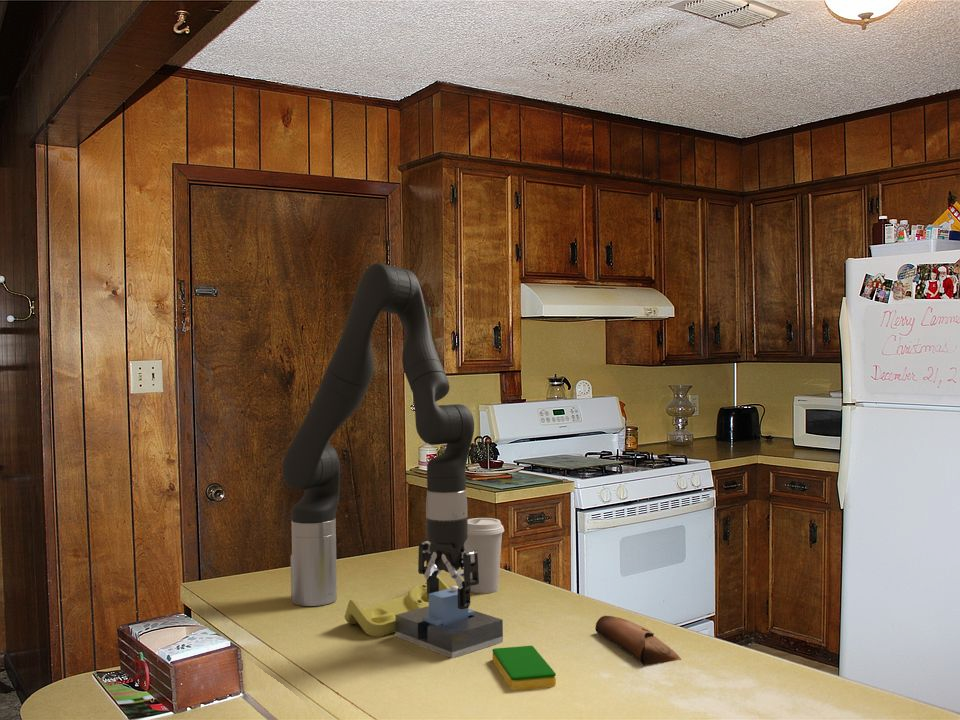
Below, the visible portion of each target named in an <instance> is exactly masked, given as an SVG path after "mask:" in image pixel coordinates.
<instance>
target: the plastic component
mask: <svg viewBox="0 0 960 720" xmlns="http://www.w3.org/2000/svg"><path fill="white" fill-rule="evenodd" d="M437 578H439V591H442V590H446V589H450V588H451V587H450V586H449V585H448V584H447V582H445V580H444V579H442V577H441V576H440V575H438V577H437ZM427 606H429V599H428V596H427V581H426V582H425V583H421V584H420V585H418V586H414V587H413V588H410V590H408V593H407V594H406V595H402V596H400V597H396V598H393V599H390V600H386V601H383V602H380V603H376V604H373V605H369V606H367V607H363V608H362V607H361V605H360V604H358V602H357V601H356V599H350V600H349V601H348V604H347V608H346V611H345V613H344V619H345V621H346V622H347V623H348V624H350V625H355V623H356V624H359V626H360V628H361V629H362V630H363V631H364V632H365V634H367V635H368V636H370V637H374V636H377V637H382V636H387V635H390V634H393V633H396V623H395V615H397V614H401V613H405V612H409V611H412V610H416V609H420V608H424V607H427Z"/></svg>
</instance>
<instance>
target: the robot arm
mask: <svg viewBox="0 0 960 720" xmlns="http://www.w3.org/2000/svg"><path fill="white" fill-rule="evenodd" d="M424 299H425V298H424V295H423V291H422V287H421V284H420V282H419V279H418V278H417V275H416V274H415V273H414V272H412V270H409V269H406V268H402V267H398V266H395V265H390V264H386V263H382V262H378V263H377V262H376V263H372V264H371V265H369V266H368V267H367V268H366V270H364V272H363V274H362V276H361V278H360V279H359V282H358V285H357V286H356V291H355V294H354V297H353V300H352V303H351V306H350V310H349V313H348V316H347V319H346V322H345V325H344V327H343V329H342V332H341V335H340V337H339V341H338V343H337V345H336V348H335V349H334V352H333V354H332V357H331V359H330V361H328V362H329V363H328V365H327V367H326V369H325V372H324V374H323V376H322V379H321V381H320V383H319V384H320V385H319V387H318V389H317V391H316V393H315V396H314V397H313V400H312V402H311V405H310V406H309V409H308V411H307V413H306V415H305V418H304V420H303V422H302V424H301V425H300V427H299V429H298V431H297V433H296V434H295V436H294V438H293V440H292V441H291V443H290V445H289V446H288V448H287V450H286V453H285V454H284V457H283V460H282V465H281V469H282V470H281V473H282V478H283V481H284V482H285V484H286V485H287V487H289V488H291V489H294V490H304V493H303V496H302V497H301V498H300V500H299V501H298V502H297V503H295V504H294V505H293V506H292V508H291V512H290V517H291V519H290V520H291V555H290V592H291V593H290V595H291V600H292V603H293V604H294V605H297V606H301V607H316V606H317V607H318V606H325V605H329V604H331V603H334V602H336V601H337V599H338V591H337V590H338V587H337V586H338V585H337V582H338V581H337V580H338V578H337V571H338V570H337V530H336V529H337V528H336V527H337V523H336V522H337V521H336V519H337V518H336V515H337V514H336V512H337V508H338V506H339V501H340V489H341V487H340V486H341V485H340V484H341V465H340V458H339V455H338V452H337V450H336V449H335V448H334V446H332V444H330V443H329V441H330V439H331V438H332V436H333V435H334V434H335V433H336V432H337V430H338V429H339V428H340V427H341V426H342V425H343V424H344V423H345V422H346V421H347V420H349V418H350V417H351V416H352V414H354V412H355V411H356V410H357V409H358V407H359V406H360V405H361V403H362V401H363V400H364V398H365V395H366V394H367V391H368V389H369V387H370V384H371V382H372V379H373V377H374V372H375V371H374V370H375V367H374V366H375V365H374V356H373V350H372V341H371V340H372V339H371V338H372V333H373V329H374V327H375V324H376V321H377V320H378V317H379V315H380V313H381V312H382V313H383V312H384V313H387V314H388V313H389V314H394V315H397V317H398V318H399V320H400V323H401V324H402V326H403V329H404V334H405V335H404V337H405V338H404V345H403V347H402V352H401V359H402V360H401V361H402V362H401V363H402V369H403V372H404V374H405V377H406V379H407V383H408V385H409V387H410V389H411V392H412V396H413V405H414V417H415V419H414V420H415V428H416V433H417V434H418V436H419V438H420V439H421V440H422V441H423V442H424V443H426V444H427V445H431V446H434V445H435V446H437V445H445V449H444V451H443V452H442V453H441V454H440V455H438V456H435V457H432V458H431V459H429V460H428V462H427V464H426V487H427V489H426V498H425V499H426V501H425V515H426V516H425V518H426V519H425V520H426V522H425V524H426V529H425V530H426V540H427V541H426V540H425V541H421V542H419V543H418V561H417V562H418V564H417V568H418V569H417V570H418V574H419V575H423V576H424V579H426V582H427V596H428V599H429V594H430V593H434V592H438V591H439V578H437V577H438V576H440V573H441V571H444V572H446V573H449V575H450V577H451V578H452V579H454V581H455V583H456V586H458V608H459V609H466V608H468V609H469V608H470V605H471V591H470V588H471V586H474V585H478V584H479V573H478V555H477V552H476V551H472V552H466V551H465V547H464V543H465V541H466V540H467V538H468V519H469V518H468V498H467V491H466V488H467V487H466V484H467V483H466V481H467V480H466V469H467V468H466V467H467V463H468V458H469V455H470V449H471V445H472V441H473V439H474V434H475V433H474V432H475V419H474V416H473V414H472V412H471V410H470V409H469V408H468V406H466V405H464V404H458V403H457V404H456V403H455V404H443V405H442V404H440V405H439V404H438V403H437V402H438V401H440V400H442V399H443V398H445V397H446V396H448V394H449V392H450V383H449V379H448V377H447V374H446V372H445V369H444V367H443V364H442V363H441V359H440V358H439V355H438V352H437V350H436V346H435V343H434V340H433V337H432V332H431V327H430V323H429V318H428V312H427V309H426V305H425V300H424ZM425 562H426V565H425ZM471 572H472V579H470V573H471ZM462 578H463V579H462Z"/></svg>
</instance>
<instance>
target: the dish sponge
mask: <svg viewBox="0 0 960 720" xmlns="http://www.w3.org/2000/svg"><path fill="white" fill-rule="evenodd" d="M491 650H492V662H493V664H494V665H495V667H496V666H497V667H496V668H497V670H498V671H499V672H500V674H501V675H502V678H503V679H504V680H505V682H506V684H507V685H508V687H509V688H510V689H511V690H513V691H519V690H520V691H521V689H522V690H532V689H541V687H542V688H549V686H550V687H551V686H553V687H555V685H556V683H557V678H556V676H557V674H556V672H555V671H554V669H553V668H552V667H551V666H550V665H549V663H548V662H547V661H546V660H545V659H544V658H543V656H542V655H541V654H540V653H539V651H538V650H537V649H536V648H535V647H534V645H522V646H510V647H509V646H508V647H498V648H497V647H496V648H492V649H491ZM556 686H557V685H556Z"/></svg>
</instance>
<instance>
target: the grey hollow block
mask: <svg viewBox="0 0 960 720" xmlns="http://www.w3.org/2000/svg"><path fill="white" fill-rule="evenodd" d="M468 609H469V610H472V611H474V615H471V616H468V619H464V620H461V621H457V622H454V623H450V624H447V625H431V626H429V622H426V621H423V618H422V617H425V616H428V615H429V606H427V607H424V608H420V609H416V610H412V611H409V612H405V613H401V614H397V615H395V623H396V632H395V637H396V638H398V639H400V640H403V641H407V642H408V643H412V644H414V645H417V646H419V647H422V648H425V649H427V650H430V651H432V652H435V653H438V654H440V655H442V656H446V657H448V658H451V659H454V658H459V657H460V656H463V655H466V654H470V653H473V652H476V651H479V650H483V649H485V648H488V647H491V646H494V645H497V644H500V643H503V642H504V629H503V627H504V625H503V621H504V620H503V619H502V618H498V617H495V616H493V615H492V616H491V615H489V614H486V613H483V612H480V611H476V610H473V609H470V608H468Z"/></svg>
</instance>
